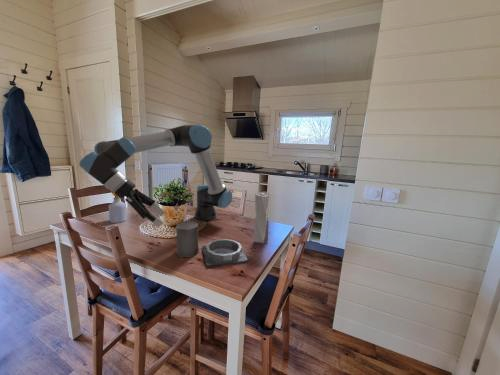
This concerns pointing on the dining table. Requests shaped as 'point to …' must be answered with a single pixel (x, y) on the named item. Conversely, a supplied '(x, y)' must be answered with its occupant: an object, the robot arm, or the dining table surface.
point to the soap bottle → (117, 210)
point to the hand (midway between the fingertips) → (162, 219)
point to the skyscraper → (261, 218)
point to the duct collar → (223, 253)
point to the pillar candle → (187, 238)
